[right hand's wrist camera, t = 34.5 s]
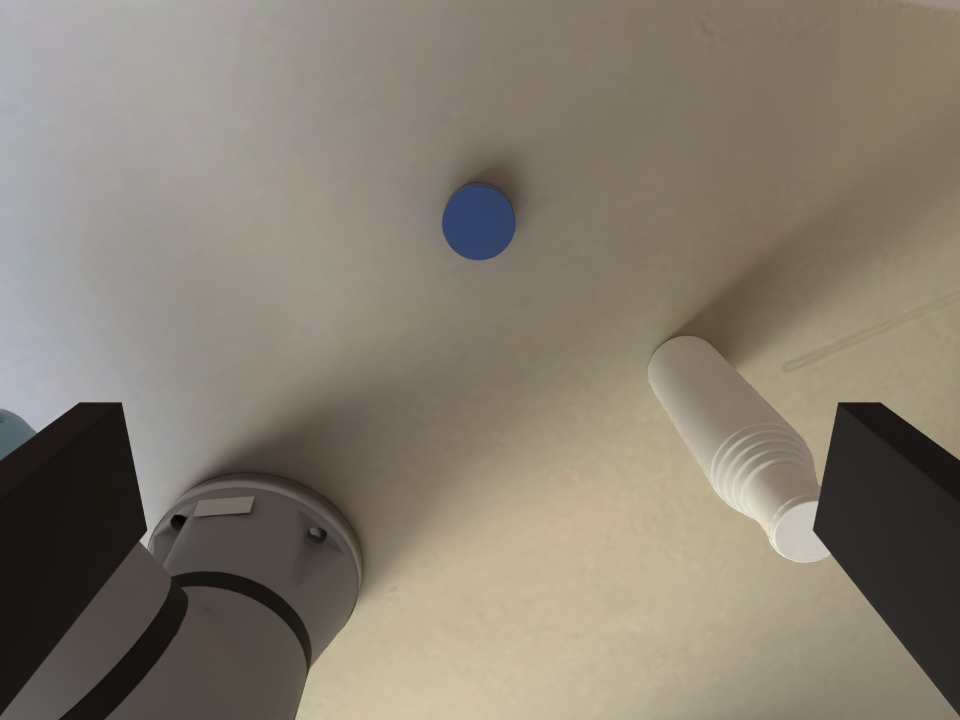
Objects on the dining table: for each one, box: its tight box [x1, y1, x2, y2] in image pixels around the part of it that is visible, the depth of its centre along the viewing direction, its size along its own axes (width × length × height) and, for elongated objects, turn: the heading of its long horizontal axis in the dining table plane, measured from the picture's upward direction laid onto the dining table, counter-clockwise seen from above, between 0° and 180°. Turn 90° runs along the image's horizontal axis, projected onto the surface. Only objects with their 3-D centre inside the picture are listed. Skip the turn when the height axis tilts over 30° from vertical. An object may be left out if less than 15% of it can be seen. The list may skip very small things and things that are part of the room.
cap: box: [442, 182, 515, 260], centre depth 40 cm, size 4×4×3 cm
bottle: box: [647, 336, 831, 562], centre depth 36 cm, size 5×5×19 cm
